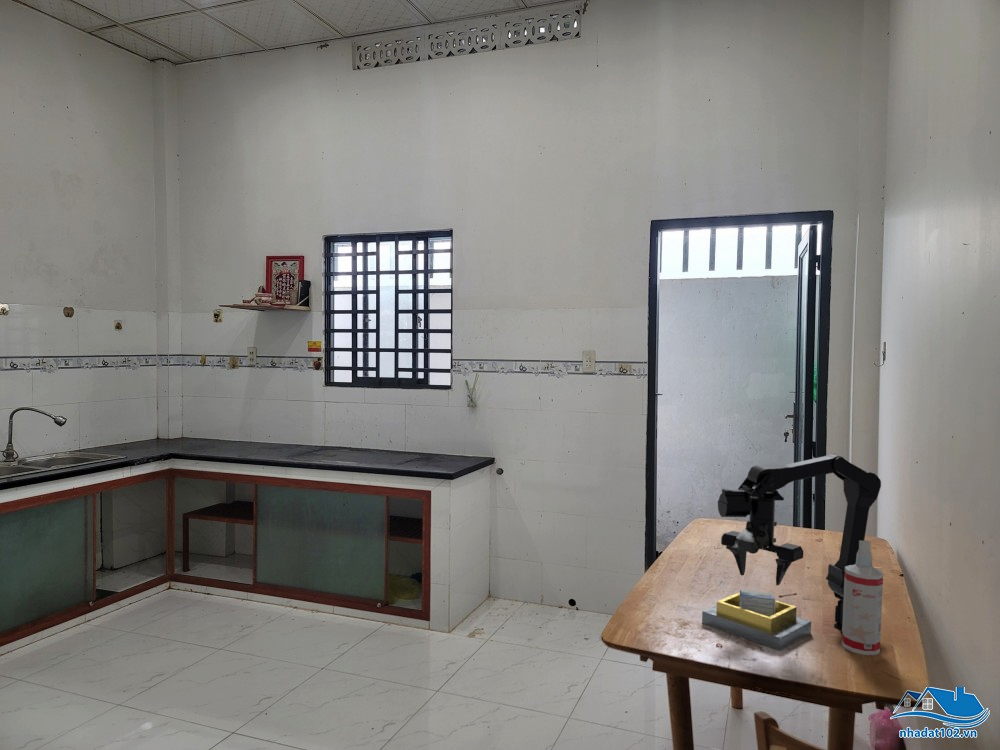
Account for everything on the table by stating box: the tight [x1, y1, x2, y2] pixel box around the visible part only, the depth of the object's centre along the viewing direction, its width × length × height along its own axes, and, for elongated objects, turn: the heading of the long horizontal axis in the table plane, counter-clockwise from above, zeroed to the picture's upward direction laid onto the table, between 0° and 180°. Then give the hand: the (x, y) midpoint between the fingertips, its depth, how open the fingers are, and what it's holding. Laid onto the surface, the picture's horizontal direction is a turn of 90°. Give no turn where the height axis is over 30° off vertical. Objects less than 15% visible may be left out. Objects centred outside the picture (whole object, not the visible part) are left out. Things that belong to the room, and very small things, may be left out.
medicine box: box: [739, 589, 776, 617], centre depth 164 cm, size 8×4×9 cm, turn 75°
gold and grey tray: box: [701, 591, 812, 652], centre depth 164 cm, size 20×16×6 cm
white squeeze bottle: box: [841, 540, 884, 656], centre depth 154 cm, size 8×8×25 cm
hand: (759, 580), depth 165 cm, fingers open, 9 cm apart
